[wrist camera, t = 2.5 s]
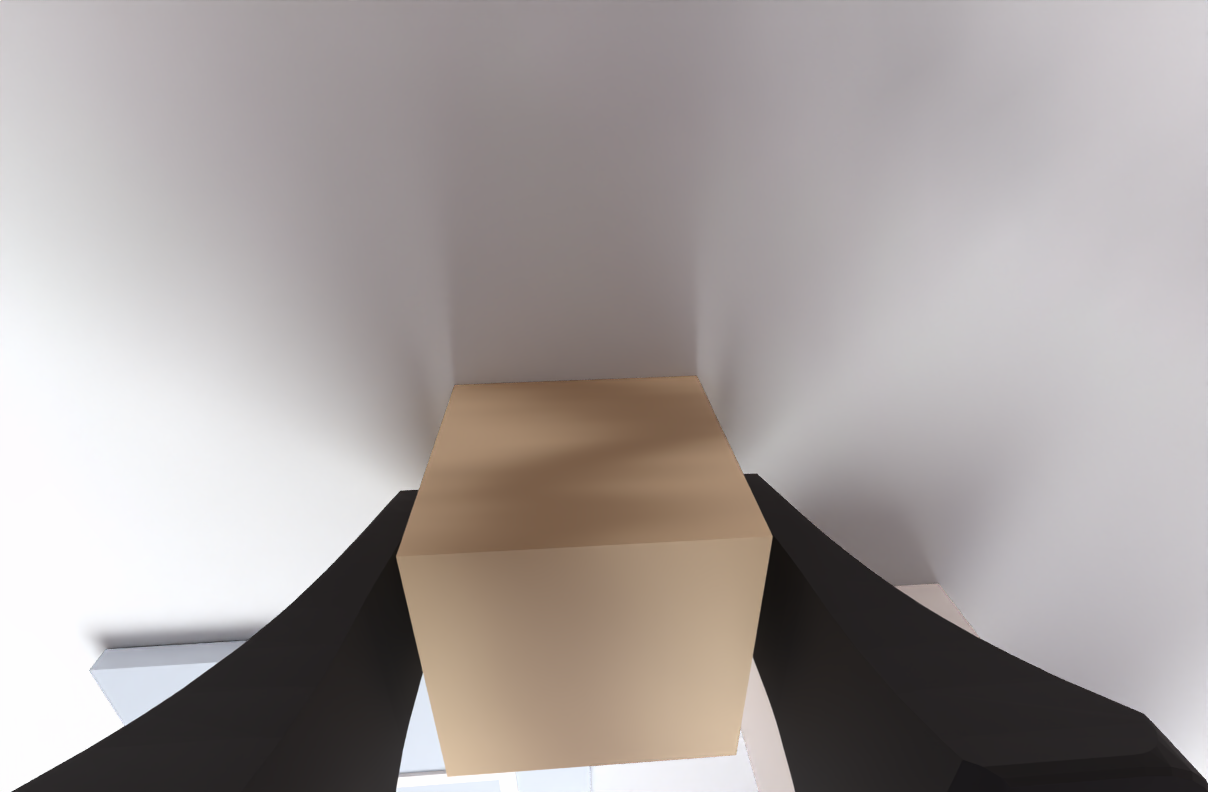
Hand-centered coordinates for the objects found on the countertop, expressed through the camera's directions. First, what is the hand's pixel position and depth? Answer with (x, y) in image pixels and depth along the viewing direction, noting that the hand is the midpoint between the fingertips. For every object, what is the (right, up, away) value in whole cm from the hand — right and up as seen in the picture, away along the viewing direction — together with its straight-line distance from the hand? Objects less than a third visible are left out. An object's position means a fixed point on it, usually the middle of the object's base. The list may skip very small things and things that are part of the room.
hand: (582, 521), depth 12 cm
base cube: (0, +1, +1) cm, 2 cm away
